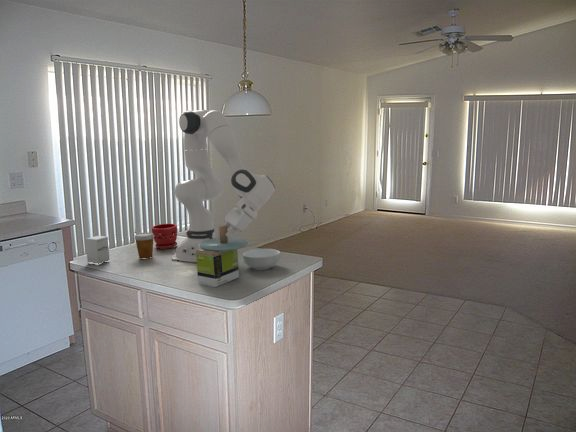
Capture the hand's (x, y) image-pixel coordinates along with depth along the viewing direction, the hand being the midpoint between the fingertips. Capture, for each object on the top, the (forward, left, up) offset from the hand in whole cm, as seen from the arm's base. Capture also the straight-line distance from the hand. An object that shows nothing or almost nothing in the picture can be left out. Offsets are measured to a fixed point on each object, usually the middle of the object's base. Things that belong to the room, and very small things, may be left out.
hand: (224, 233), depth 204 cm
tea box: (-2, -4, -19) cm, 20 cm away
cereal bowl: (+12, +17, -19) cm, 29 cm away
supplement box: (-69, +18, -19) cm, 74 cm away
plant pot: (-49, +51, -19) cm, 74 cm away
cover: (0, -1, -4) cm, 5 cm away
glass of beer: (-50, +29, -19) cm, 62 cm away
